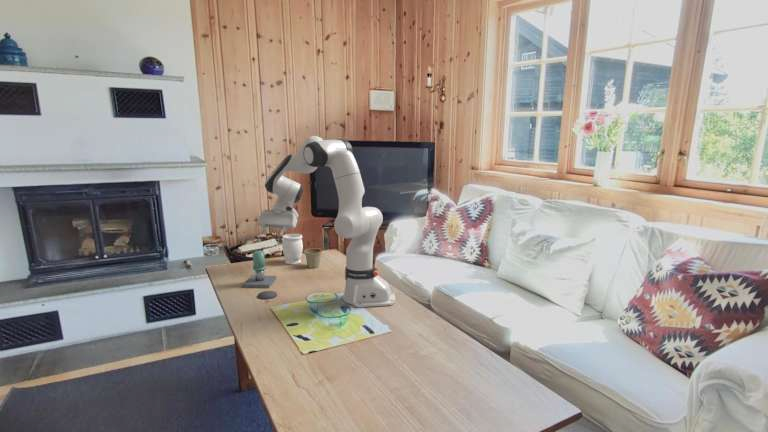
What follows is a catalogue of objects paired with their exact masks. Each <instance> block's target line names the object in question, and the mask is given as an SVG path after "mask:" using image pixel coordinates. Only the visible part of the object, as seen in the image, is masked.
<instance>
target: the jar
mask: <svg viewBox="0 0 768 432" xmlns="http://www.w3.org/2000/svg"><path fill="white" fill-rule="evenodd" d="M302 239H303V235H302V234H300V233H287V234H283V236H282V250H283V256H284V259H285V261H284V262H285V264H286V265H294V266H295V265H298V264H301V263H302V260H301V258H302V256H303V252H304V250H303V249H304V248H303V247H304V246H303V240H302Z"/></svg>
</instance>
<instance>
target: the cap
mask: <svg viewBox="0 0 768 432" xmlns="http://www.w3.org/2000/svg"><path fill="white" fill-rule="evenodd" d="M252 258H253V259H252V261H253V262H252V263H253V266H252V271H254V272H255V271H261V270H264V271H265V270H266V269H267V267H266V262H265V261H266V260H265V259H266V258H265V251H264V250H255V251H253V252H252Z"/></svg>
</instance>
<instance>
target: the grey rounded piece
mask: <svg viewBox="0 0 768 432" xmlns="http://www.w3.org/2000/svg"><path fill="white" fill-rule="evenodd" d="M254 275H255V281H264V276H265V270H261V271H255V270H254Z"/></svg>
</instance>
